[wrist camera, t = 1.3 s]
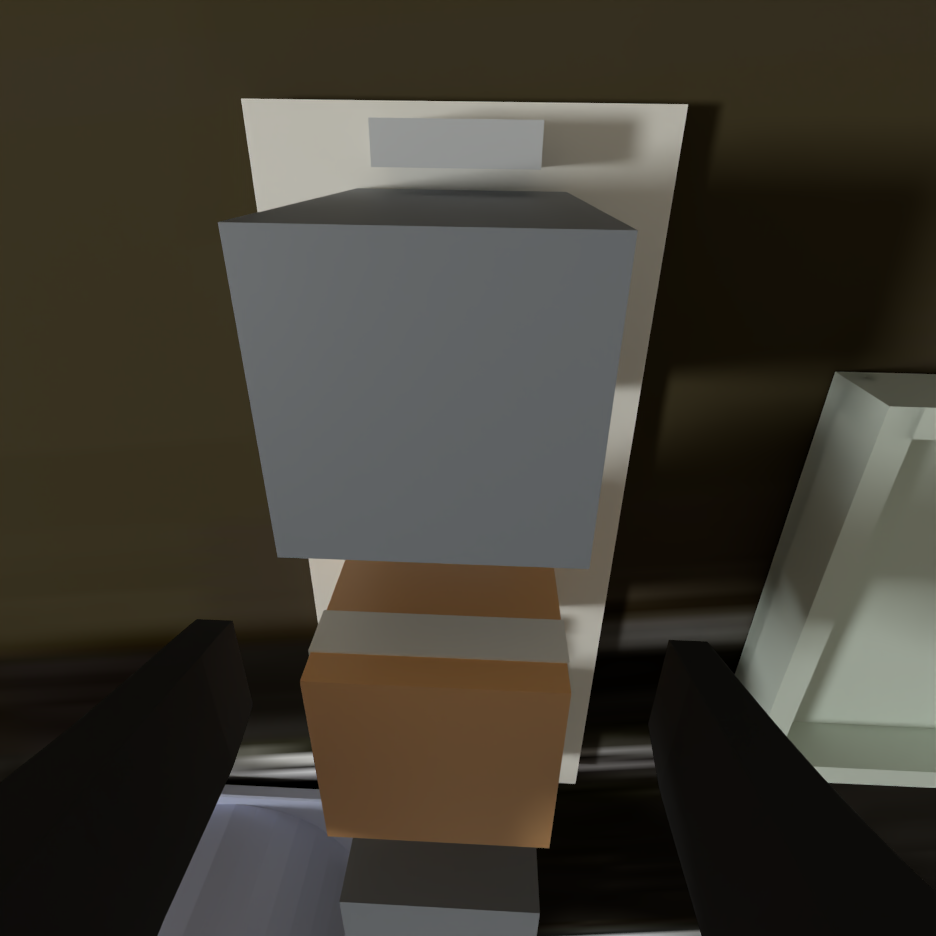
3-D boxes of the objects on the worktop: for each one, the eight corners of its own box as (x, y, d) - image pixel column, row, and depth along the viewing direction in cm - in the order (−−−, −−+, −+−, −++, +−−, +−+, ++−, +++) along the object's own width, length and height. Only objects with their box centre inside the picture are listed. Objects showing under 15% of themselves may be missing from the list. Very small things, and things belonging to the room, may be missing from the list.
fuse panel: (572, 764, 18) (606, 1032, 12) (344, 753, 18) (279, 1011, 12) (677, 106, 9) (913, 46, 4) (254, 101, 10) (-45, 37, 4)
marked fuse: (532, 607, 14) (550, 849, 9) (384, 601, 14) (326, 837, 9) (543, 478, 12) (574, 692, 7) (375, 473, 12) (297, 679, 7)
